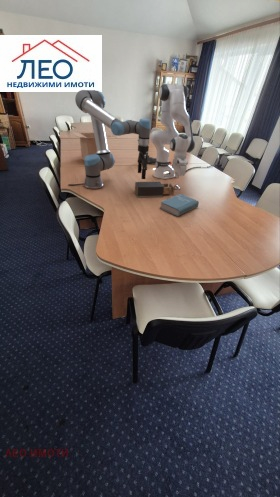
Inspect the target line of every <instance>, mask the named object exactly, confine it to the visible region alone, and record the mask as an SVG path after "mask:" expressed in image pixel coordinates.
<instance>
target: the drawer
mask: <svg viewBox="0 0 280 497" xmlns="http://www.w3.org/2000/svg"><path fill="white" fill-rule="evenodd" d="M161 184H162V185H163V186H164V191H163V195H174V194H175V191H177V190H178V191H181V188H180V186H179V185H178V184H175V185H173V184H172V182H168V183H161Z"/></svg>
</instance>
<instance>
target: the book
mask: <svg viewBox="0 0 280 497" xmlns="http://www.w3.org/2000/svg"><path fill="white" fill-rule="evenodd" d="M160 203H161V204H160V208H159V209H161V210H163V211H165V212H167V213H169V214H171V215H173V216H176V217H180V216H181V215H184V214H186V213H188V212H190V211H192V210H194V209H196V208H198V207H199V204H200V203H199V200H196V199H194V198H192V197H189V196H187V195H184V194H182V193H180V194H177V195H175V196H172V197H169V198H166V199H164V200H161V201H160Z"/></svg>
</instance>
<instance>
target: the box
mask: <svg viewBox="0 0 280 497" xmlns="http://www.w3.org/2000/svg"><path fill="white" fill-rule="evenodd" d="M70 133H71V134H72V135H74V136H75V137H77V138H79V144H80V153H81V160H83V161H84V159H85V157H86V156H87V155H90V154H96V152H97V146H96V141H95V136H94V131H93V129H91V130H77V132H76V131H70ZM105 135H106V138H113V137H114V135H111V134H109V133H108V132H105Z"/></svg>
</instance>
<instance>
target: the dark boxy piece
mask: <svg viewBox="0 0 280 497" xmlns="http://www.w3.org/2000/svg"><path fill="white" fill-rule="evenodd" d="M162 184H163V183H162V182H161V181H135V183H134V193H135V195H136V197H137V198H157V197H160V198H162V197H164V194H163V191H164V186H163V185H162Z"/></svg>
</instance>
